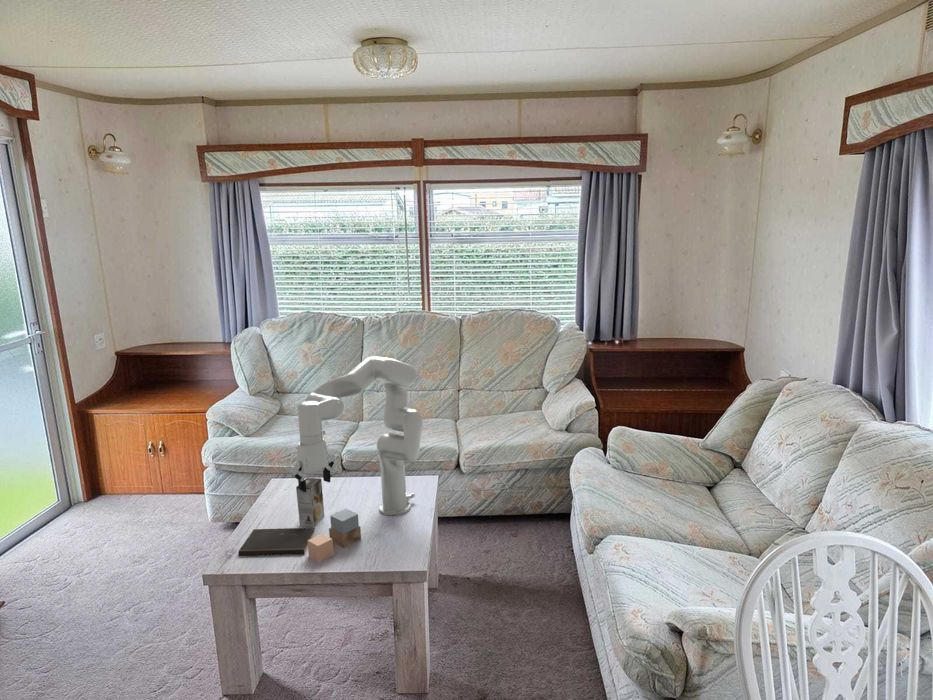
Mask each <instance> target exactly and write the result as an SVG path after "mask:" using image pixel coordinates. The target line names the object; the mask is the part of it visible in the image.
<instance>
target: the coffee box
mask: <svg viewBox="0 0 933 700" xmlns="http://www.w3.org/2000/svg"><path fill="white" fill-rule="evenodd" d="M304 480H305V481H306V490H307V491H306V492H303V491H301V490H300V489H299V485H297V486H296V487H295V489H296V490H295V491H296V500H297V509H298V510H297V511H298V519H299V520H298V521H299V526H300V527H303V526H304V527H311V528H315V526H317V525H318V524H319V522H320V521H321V520H322V519H323V518H324V517H325V507H324V493H323V486H322V485H323V484H322V482H323V481H322V478H321V477H317V478H315V477H305V479H304Z"/></svg>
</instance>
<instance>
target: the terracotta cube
mask: <svg viewBox="0 0 933 700" xmlns="http://www.w3.org/2000/svg"><path fill="white" fill-rule="evenodd" d="M307 549H308V550H307V551H308V557H310V558H312V559H314V560H315V561H317V562H318V563H320V562H322V561H323V560H326V559H327V558H330V557H331V556H333V555H334V544H333V541H332V539H331V538H330V536H328V535H326V534H324V533H321V534H318V535H316V536H313V537H312V538H311V539H309V540H308V546H307Z"/></svg>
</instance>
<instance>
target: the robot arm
mask: <svg viewBox="0 0 933 700" xmlns="http://www.w3.org/2000/svg"><path fill="white" fill-rule="evenodd" d="M417 374H418V373H417V371H416V369H415V367H414V366H413V365H411V364H409V363H407V362H403V361H401V360H398V359H395V358H391V357H386V356H385V357H383V356H375V355H372V356H368V357H366V358H365V359H363V360H362V361H361V362H359V363H358V364H357V365H356V366H355V367H354V368H352V369H351V370H350V371H349V372H347V373H346V374H345V375H341V376H339V377H337V378H333V379H332V380H331V379H330V380H328V381H327V382H324V383H322V384H320V385H319V386H318V387H316V388H315V389H314V390H313V391H312V392H310V393H309V394H308V395H307V397H306V398H305V400H304V401H302V402H300V403H299V404H298V405H297V415H298V416H297V417H298V433H299V443H298V444H297V447H296V464H295V465H294V466H292V468H291V469H290V470H289V472H290V473H291V475H292V477H294V479H296V480H297V481H298V482H297V484H298V485H299V489H300V490H301V491H303V492H306V491H307V490H306V481H305V479H306V478H307V475H309V474H312V473H315V472H317V471H320V470H322V478H323V479H322V480H323V481H324V482H326V483H331V478H332V477H331V471H332V469H333V468H332V467H333V466H334V464H335V460H336V457H337V456H336V455H334V454H330V453H328V447H327V442H326V440H325V438H324V436H325V435H326V430H323V421H328V420H329V421H331V420H335V419H337V418H339V417H340V416H342V414H343V412H344V410H345V407H344V406H345V405H344V402H343V401H342V400H341V398H346V397H347V398H348V397H353V396H357V395H360V394H361V393H363V391H365V390H366V389H367V388H368V387H369V386H370V385H372V384H373V383H374V382H376V381H379V382H380V383H381V384H382V385H383V388H384V390H385V405H384V415H383V425H384V427H385V428H386V429H389V430H392V431H395V432H400V433H403V435H402V434H398V433H394V432H393V433H392V432H386V433H382V434H381V435H380V436H378V439H377V442H376V450H377V454H378V458H379V465H380V478H381V479H380V480H381V497H382V503H381V504H380V505H379V506H378V511H379V512H380V513H381V514H383V515H385V516H399V515H400V516H401V515H403V514H405V513H408V512H409V511H410V509H411V503H410V502H409V501H410V500H411V499H413V498H415V496H416V494H415V493H414V492H411V493H408V492H407V486H406V469H405V468H406V467H405V463H404V462H407V463H409V462H413V461H415V460H416V459H417V457H418V455H419V453H420V450H421V449H420V447H421V440H422V430H423V417H422V415H421V413H420V412H419V410H417V409H415V408H409V407H408V397H409V396H408V390H407V387H411V386H412V385H414V383H415V382H416V381H417ZM298 485H297V486H298Z"/></svg>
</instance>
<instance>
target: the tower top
mask: <svg viewBox="0 0 933 700" xmlns="http://www.w3.org/2000/svg"><path fill="white" fill-rule="evenodd" d="M329 519H330V528H331V529H333V530H335V531H337V532H340V533H342V534H345V533H347V532H349V531H351V530H353V529H355V528H357V527H359V526H360V525H359V523H360V522H359V514H358V513H356V512H354V511H352V510H350V509H348V508H344V509H342V510H339V511H337V512H335V513H334V514H331V515H330V518H329Z"/></svg>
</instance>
